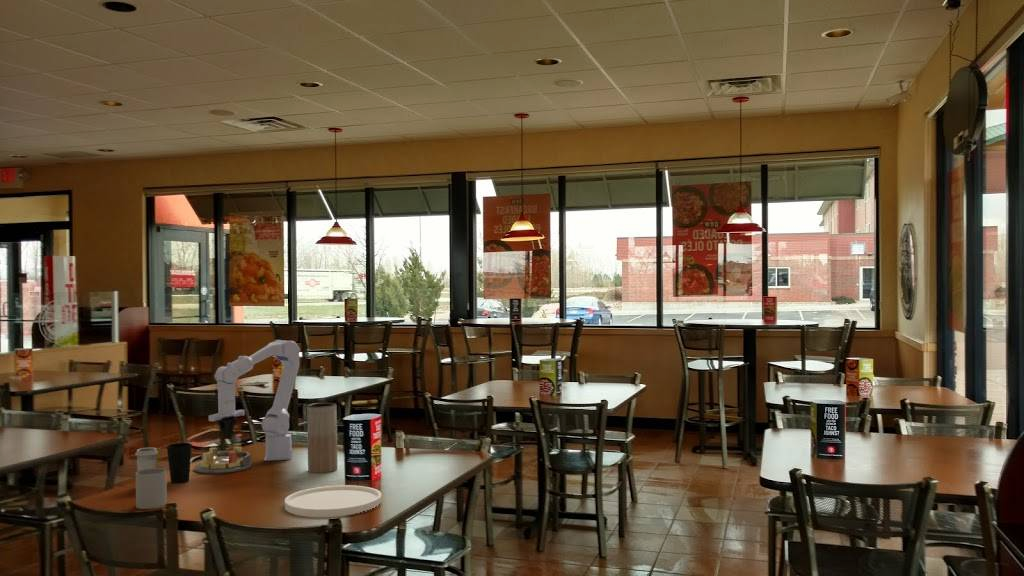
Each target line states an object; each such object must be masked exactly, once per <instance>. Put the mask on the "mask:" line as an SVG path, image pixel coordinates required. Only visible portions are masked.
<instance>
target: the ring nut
mask: <svg viewBox="0 0 1024 576" xmlns="http://www.w3.org/2000/svg"><path fill="white" fill-rule="evenodd" d="M231 451H232V452H229V456H220V457H219V456H218V455H217V452H218V447H210V448H209V451H208V452H203V453H202V454H203V460H202V459H201V461H200V462H199V464H200V467H201V468H206V469H226V468H233V467H238V466H241V465H243V457H242V451H243V447H242V446H235V447H233V450H231ZM223 457H229V462H226V463H213V459H216V458H223Z"/></svg>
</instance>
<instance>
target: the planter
mask: <svg viewBox="0 0 1024 576" xmlns="http://www.w3.org/2000/svg"><path fill="white" fill-rule="evenodd" d="M337 405H338V404H336V403H334V402H316V403H310V404H308V405H306V410H307V411H306V415H307V416H306V417H307V418H306V419H307V420H306V421H307V422H306V423H307V469H308V472H310V473H314V474H315V473H316V474H325V473H331V472H335V471H336V470H337V469H338V416H337V415H338V414H337V413H338V411H337V410H338V409H337Z"/></svg>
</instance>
